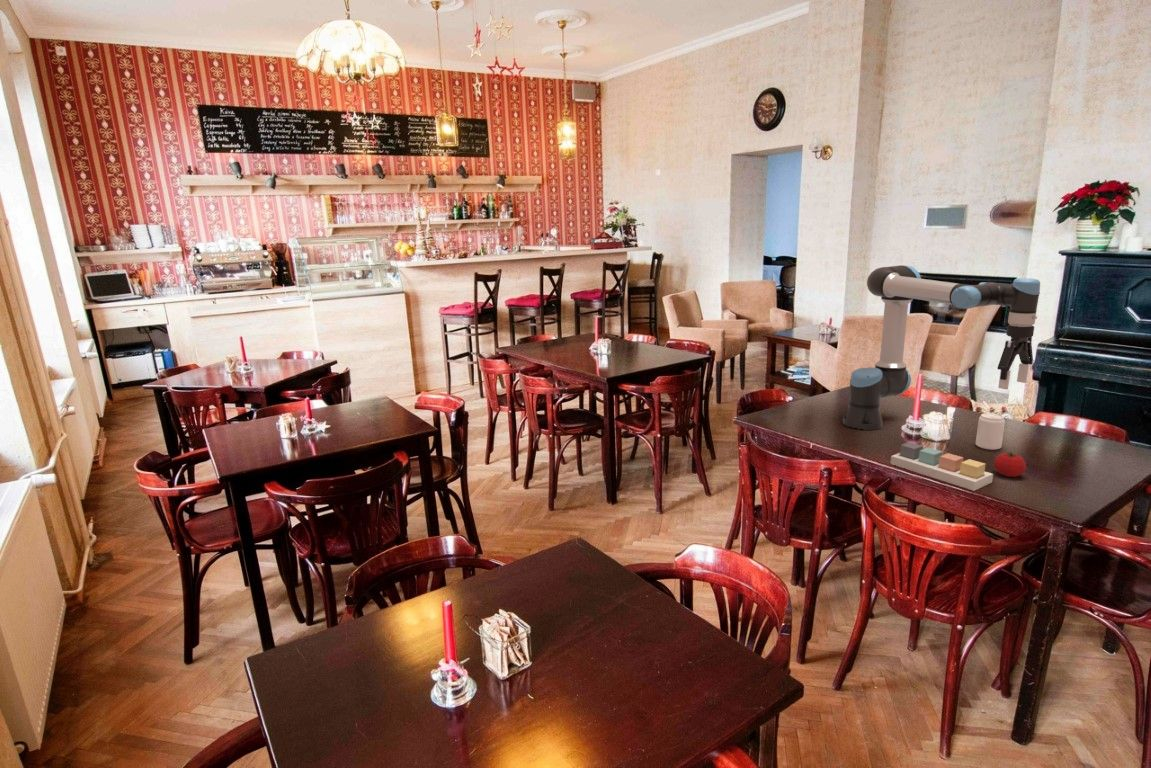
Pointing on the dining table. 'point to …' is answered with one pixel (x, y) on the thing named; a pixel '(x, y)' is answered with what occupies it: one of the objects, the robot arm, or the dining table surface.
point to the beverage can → (990, 431)
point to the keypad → (941, 473)
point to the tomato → (1010, 464)
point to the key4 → (972, 469)
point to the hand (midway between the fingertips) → (1012, 385)
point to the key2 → (930, 456)
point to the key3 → (950, 462)
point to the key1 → (910, 450)
